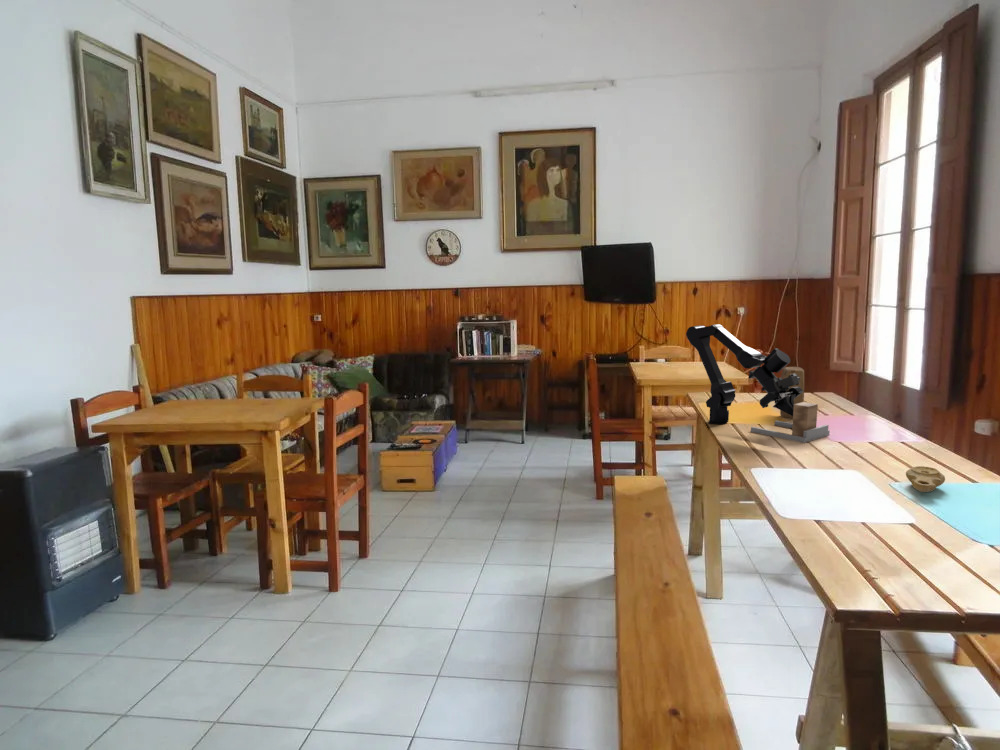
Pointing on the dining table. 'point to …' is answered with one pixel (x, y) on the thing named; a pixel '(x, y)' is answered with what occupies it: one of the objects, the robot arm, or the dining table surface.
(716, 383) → the robot arm
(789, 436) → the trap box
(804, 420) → the slider
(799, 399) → the block
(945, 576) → the dining table surface
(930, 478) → the oil lamp
